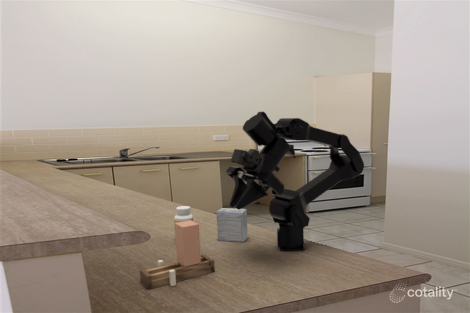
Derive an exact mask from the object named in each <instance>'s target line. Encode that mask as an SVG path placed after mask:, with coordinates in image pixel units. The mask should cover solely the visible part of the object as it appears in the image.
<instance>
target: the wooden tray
mask: <svg viewBox="0 0 470 313" xmlns="http://www.w3.org/2000/svg"><path fill="white" fill-rule="evenodd" d="M200 255H201V263H198V264H194V265H190V266H186V267H184V266H183V267H181V265H180V263H179V262H178V261H177V262H174V263H171V264H166V265H164V266H161V267H158V266H157V267H153V268H149V269H145V268H143V267H142V268H140V269H139V278H140V283H141V284H143V286H144V287H145V288H146V289H147V290H151V289H155V288H159V287H162V286H163V287H164V286H166V285H170V277H169V270H173V269H174V270H175V276H176V283H178V282H182V281H184V280H189V279H192V278H196V277H201V276H204V275H209V274H212V273H215V272H216V268H215V259H213V258H212V257H210V256H208V255H207V254H206V253H203V254H200Z"/></svg>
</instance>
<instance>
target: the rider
mask: <svg viewBox="0 0 470 313" xmlns="http://www.w3.org/2000/svg"><path fill="white" fill-rule="evenodd" d="M175 236H176V241H175V251H176V262H177V263H178V262H179V263H180V265H181V267H183V266H184V267H186V266H190V265H194V264H198V263H201V255H202V254H201V239H200V238H201V237H200V224H199V223H197V222H195V221H194V220H193V221H191V220H189V221H183V222H178V223H175V224H174V237H175Z"/></svg>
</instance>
